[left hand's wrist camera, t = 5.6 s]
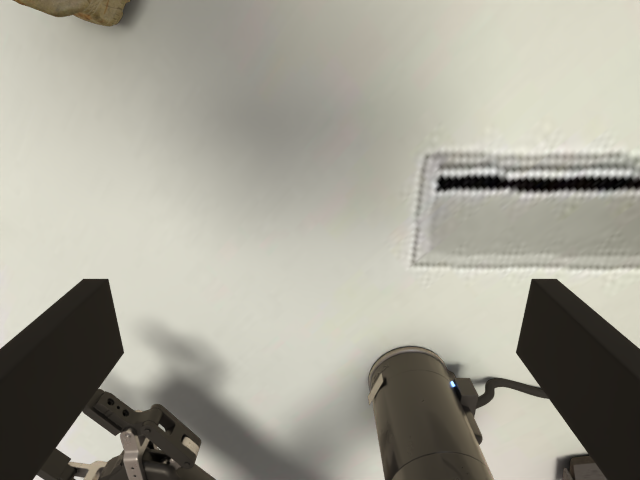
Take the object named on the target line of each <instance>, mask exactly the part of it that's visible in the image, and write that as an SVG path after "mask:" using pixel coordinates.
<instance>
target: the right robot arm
mask: <svg viewBox="0 0 640 480" xmlns="http://www.w3.org/2000/svg"><path fill="white" fill-rule="evenodd" d="M497 387H508V388H512V389H515V390H518V391H521V392H524V393H527V394H530V395H533V396H537V397H541V398H547V399H549V398H548V397H547V395H546V394H545V392H544V391H543V390H542V389H539V388H536V387H532V386H529V385H526V384H523V383H519V382H515V381H511V380H507V379H503V378H496V379H491V380H489V381H488V382H487V383H486V385H485V393H484V394H483V395H481V396H479V397H478V394H477V392H476V390H475V388H474V386H473V384H472V382H471V380H470V378H456V377H455V375H454V373H452V372H450V371H448V370H447V368H446V366H445V364H444V362H443V361H442V360H441V358H440V357H439V356H437V355H436V354H435V353H433V352H431V351H429V350H426V349H423V348H418V347H404V348H399V349H396V350H393V351H391V352H389V353H387V354H385V355H384V356H382V357H381V358H380V359H379V360H378V361H377V362H376V363H375V364H374V366H373V367H372V369H371V371H370V374H369V389H370V394H369V396H368V400H369V405H370V403H371V401H372V403H373V409H374V416H375V422H376V428H377V434H378V440H379V446H380V452H381V458H382V464H383V471H384V477H385V480H494V478H493V476H492V474H491V472H490V470H489V467H488V465H487V463H486V460H485V458H484V456H483V453H482V451H481V449H480V446H479V445H480V444H481V442H482V434H481V432H480V430H479V428H478V426H477V424H476V421H475V419H474V415H475V410H476V409H477V408H479V407H481V406H484V405H485V404H487V403H488V402H490V401H491V400H492V399H493V397H494V388H497ZM82 411H83V413H84V414H86V415H87V416H89V417H90V418H91V419H93V420H94V421H95V422H97V423H98V424H99V425H101V426H102V427H104V428H105V429H106V430H108V431H109V432H110V433H112V434H113V435H115V436H116V435H117V434H119V433H120V432H121V434H120V438H121V442H122V445H123V448H124V450H123V452H122V453H121V455H119V456H117V457H114V458H112V459H111V460H109V461H108V462H103V461H96V462H94V463H92V464H83V463H76V462H69V461H70V460H71V458H69V457H68V456H66V455H65V454H63V453H62V452H60V451H59V450H57V449H56V448H55V449H54V451H53V452H52V454H51V455H50V456H49V458H48V459H47V461H46V462H45V463H44V465H43V466H42V467H41V469H40V470H39V472H38V473H37V474H36V475H38V476H39V477H41V478H43V479H44V480H75V479H74V476H78V477H85V478H84V480H97V479H98V480H216V479H214V478H213V477H212V476H210V475H209V474H208V473H206V472H205V471H204V470H202V469H201V468H200V467H198V466H197V465H196V464H195V461H196V458H197V454H198V451H199V448H200V445H201V440H200V438H198V437H197V436H196V435H195V434H194V433H193V432H192V431H191V430H189V429H188V428H187V427H186V426H185V425H184V424H183V423H181V422H180V421H179V420H178V419H177V418H176V417H175V416H173V415H172V414H171V413H170V412H169V411H168V410H167V409H165V408H164V407H163V406H162V405H160V404H154V405H153V406H152V407H151V409H150V410H147V411H140V410H135V411H134V410H132V409H131V408H130V407H128V406H127V405H126V404H124V403H123V402H122V401H120V400H119V399H118V398H116V397H115V396H114V395H113V394H111V393H109V392H106V391H105V392H104V391H103V390H101V389H98V390H97V391H96V392H95V394H94V395H93V397H92V398H91V399H90V401H89V402H88V403H87V405H86V406H85V408H84V409H83V410H82ZM158 424H161V425H162V426H163V427H164V428H165V432H164V431H163V430H162V429H161V428H160V427H158ZM157 447H158V448H157ZM159 448H160V449H161V450H159Z"/></svg>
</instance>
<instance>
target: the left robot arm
mask: <svg viewBox="0 0 640 480" xmlns="http://www.w3.org/2000/svg"><path fill="white" fill-rule="evenodd" d="M123 353H124V350H123V346H122V341H121V336H120V332H119V327H118V322H117V318H116V313H115V308H114V304H113V299H112V294H111V290H110V285H109V280H108V279H83V280H82V281H81V282H79V283H78V284H77V285H76V286H75V287H73V288H72V289H71V290H70V291H69V292H67V293H66V294H65V295H64V296H63V297H62V298H60V299H59V300H58V301H57V302H56V303H54V304H53V305H52V306H51V307H50V308H48V309H47V310H46V311H45V312H44V313H43V314H41V315H40V316H39V317H38V318H37V319H35V320H34V321H33V322H32V323H31V324H29V325H28V326H27V327H26V328H25V329H24V330H22V331H21V332H20V333H19V334H18V335H16V336H15V337H14V338H13V339H12V340H10V341H9V342H8V343H7V344H6V345H5V346H3V347H2V348H1V349H0V480H33V479H34V477H35V476H36V474H37V473H38V472H39V470H40V469H41V467H42V466H43V465H44V463H45V462H46V461H47V459H48V458H49V456H50V455H51V454H52V452H53V451H54V449H55V448H56V447H57V445H58V444H59V442H60V441H61V440H62V438H63V437H64V435H65V434H66V433H67V431H68V430H69V429H70V427H71V426H72V424H73V423H74V422H75V420H76V419H77V417H78V416H79V415H80V413H81V412H82V410H83V409H84V408H85V406H86V405H87V403H88V402H89V401H90V399H91V398H92V397H93V395H94V394H95V392H96V391H97V390H98V388H99V387H100V385H101V384H102V383H103V381H104V380H105V378H106V377H107V376H108V374H109V373H110V371H111V370H112V369H113V367H114V366H115V365H116V363H117V362H118V360H119V359H120V358H121V356H122V355H123ZM516 353H517V355H518V356H519V358H520V359H521V360H522V362H523V363H524V365H525V366H526V367H527V369H528V370H529V371H530V373H531V374H532V376H533V377H534V378H535V380H536V381H537V383H538V384H539V385H540V387H541V388H542V390H543V391H544V392H545V394H546V395H547V397H548V398H549V399H550V401H551V402H552V403H553V405H554V406H555V408H556V409H557V410H558V412H559V413H560V415H561V416H562V417H563V419H564V420H565V422H566V423H567V424H568V426H569V427H570V429H571V430H572V431H573V433H574V434H575V435H576V437H577V438H578V440H579V441H580V442H581V444H582V445H583V447H584V448H585V449H586V451H587V452H588V454H589V455H590V456H591V458H592V459H593V461H594V462H595V463H596V465H597V466H598V467H599V469H600V470H601V472H602V473H603V474H604V476H605V477H606V479H607V480H640V349H639V348H638V347H637V346H635V345H634V344H633V343H632V342H631V341H630V340H628V339H627V338H626V337H625V336H624V335H622V334H621V333H620V332H619V331H618V330H616V329H615V328H614V327H613V326H612V325H611V324H609V323H608V322H607V321H606V320H605V319H603V318H602V317H601V316H600V315H599V314H597V313H596V312H595V311H594V310H593V309H592V308H590V307H589V306H588V305H587V304H586V303H584V302H583V301H582V300H581V299H580V298H578V297H577V296H576V295H575V294H574V293H573V292H571V291H570V290H569V289H568V288H567V287H565V286H564V285H563V284H562V283H561V282H559V281H558V280H557V279H532V280H531V285H530V290H529V294H528V299H527V304H526V308H525V313H524V318H523V322H522V327H521V332H520V336H519V341H518V346H517V350H516Z"/></svg>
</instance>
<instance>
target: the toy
mask: <svg viewBox="0 0 640 480" xmlns="http://www.w3.org/2000/svg"><path fill="white" fill-rule="evenodd" d="M562 480H607V479H606V477H605V476H604V474H603V473H602V472H601V470H600V469H599V467H598V466H597V465H596V463H595V462H594V461H593V459H592V458H591V456H582V457H573V458H572V459H571V462H570V470H569V472H568V470H567V468H564V470H563V478H562Z"/></svg>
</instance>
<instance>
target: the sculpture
mask: <svg viewBox="0 0 640 480" xmlns="http://www.w3.org/2000/svg"><path fill="white" fill-rule="evenodd" d="M14 1H16V2H17V3H19V4H22V5H25V6H28V7H31V8H34V9H36V10H39V11H42V12H44V13H47V14H50V15H52V16H55V17H65V16H70V15H74V16H76V17H79V18H81V19H83V20H86V21H89V22H92V23H95V24H99V25H103V26H113V25H115V24H117V23H118V22H119V21H120V19H121V18H122V16H123V12H122V11H123V9H124V6H125V4H126V3H128V2H130V1H131V0H14Z"/></svg>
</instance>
